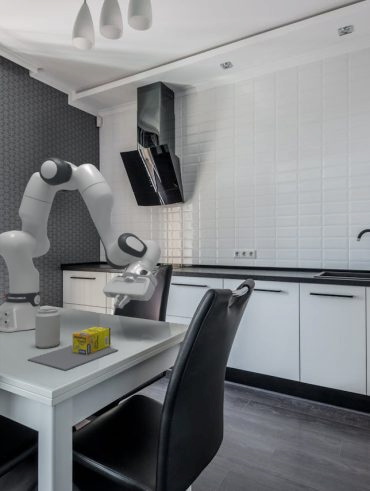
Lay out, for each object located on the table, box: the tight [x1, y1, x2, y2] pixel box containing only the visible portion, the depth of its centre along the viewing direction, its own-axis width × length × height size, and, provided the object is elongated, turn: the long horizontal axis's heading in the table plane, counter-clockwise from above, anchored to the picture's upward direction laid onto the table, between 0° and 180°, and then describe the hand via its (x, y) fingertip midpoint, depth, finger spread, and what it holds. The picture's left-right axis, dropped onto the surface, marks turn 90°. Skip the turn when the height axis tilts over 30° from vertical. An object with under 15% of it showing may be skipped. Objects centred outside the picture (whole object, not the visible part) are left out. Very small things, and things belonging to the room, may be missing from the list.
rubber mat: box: [27, 344, 119, 372], centre depth 100 cm, size 20×16×1 cm
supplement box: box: [72, 325, 112, 355], centre depth 105 cm, size 6×6×11 cm
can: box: [34, 307, 61, 349], centre depth 111 cm, size 8×8×12 cm
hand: (117, 307), depth 116 cm, fingers closed
